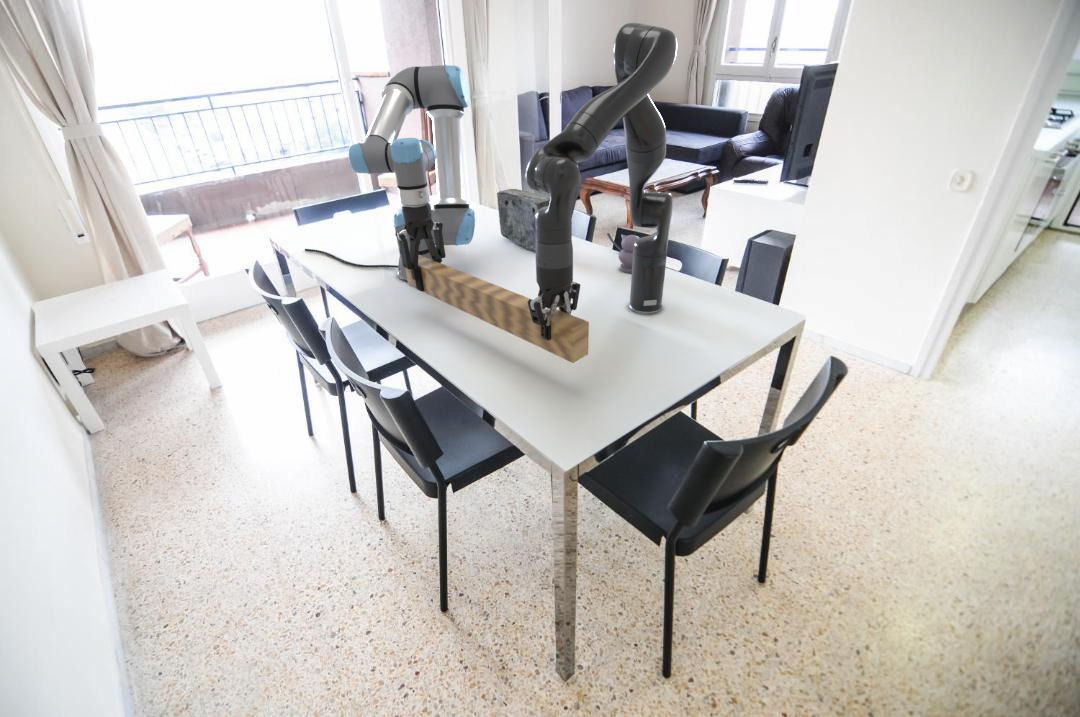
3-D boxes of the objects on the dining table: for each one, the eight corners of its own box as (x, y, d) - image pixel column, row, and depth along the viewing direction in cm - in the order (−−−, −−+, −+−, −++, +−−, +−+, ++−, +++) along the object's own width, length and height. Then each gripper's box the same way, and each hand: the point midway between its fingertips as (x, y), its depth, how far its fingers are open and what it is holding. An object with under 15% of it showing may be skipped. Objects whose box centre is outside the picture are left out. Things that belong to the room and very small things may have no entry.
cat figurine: (646, 268, 173) (649, 234, 166) (634, 275, 168) (636, 240, 161) (626, 263, 178) (628, 230, 171) (613, 269, 173) (614, 236, 167)
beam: (408, 284, 144) (403, 259, 140) (422, 279, 147) (418, 254, 143) (573, 363, 105) (573, 330, 100) (588, 354, 107) (588, 321, 103)
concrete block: (556, 252, 190) (555, 199, 179) (537, 257, 186) (535, 203, 175) (517, 236, 209) (515, 187, 198) (500, 240, 204) (496, 190, 194)
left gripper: (392, 213, 121) (408, 300, 133) (452, 199, 132) (462, 280, 144) (376, 208, 126) (394, 293, 138) (435, 194, 136) (447, 274, 148)
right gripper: (542, 275, 93) (544, 352, 102) (591, 255, 102) (589, 328, 111) (515, 266, 98) (520, 340, 107) (564, 247, 106) (565, 317, 115)
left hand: (428, 286), depth 141 cm, fingers closed on beam, 5 cm apart
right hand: (555, 334), depth 109 cm, fingers closed on beam, 5 cm apart
